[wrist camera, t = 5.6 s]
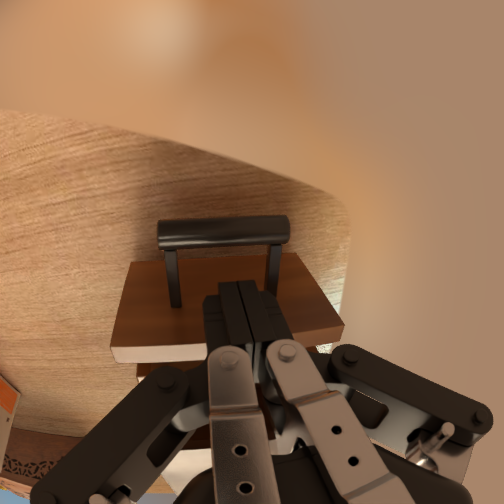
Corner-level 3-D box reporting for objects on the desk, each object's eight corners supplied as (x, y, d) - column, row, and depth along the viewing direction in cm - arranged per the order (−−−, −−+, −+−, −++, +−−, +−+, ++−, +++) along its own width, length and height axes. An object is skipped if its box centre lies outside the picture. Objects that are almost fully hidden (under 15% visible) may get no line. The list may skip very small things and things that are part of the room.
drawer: (121, 193, 16) (81, 255, 9) (303, 187, 18) (368, 240, 12) (161, 391, 25) (164, 461, 18) (276, 379, 27) (299, 445, 21)
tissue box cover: (23, 457, 33) (18, 495, 24) (-19, 419, 26) (-30, 464, 17) (131, 471, 37) (133, 519, 28) (97, 438, 30) (94, 500, 21)
